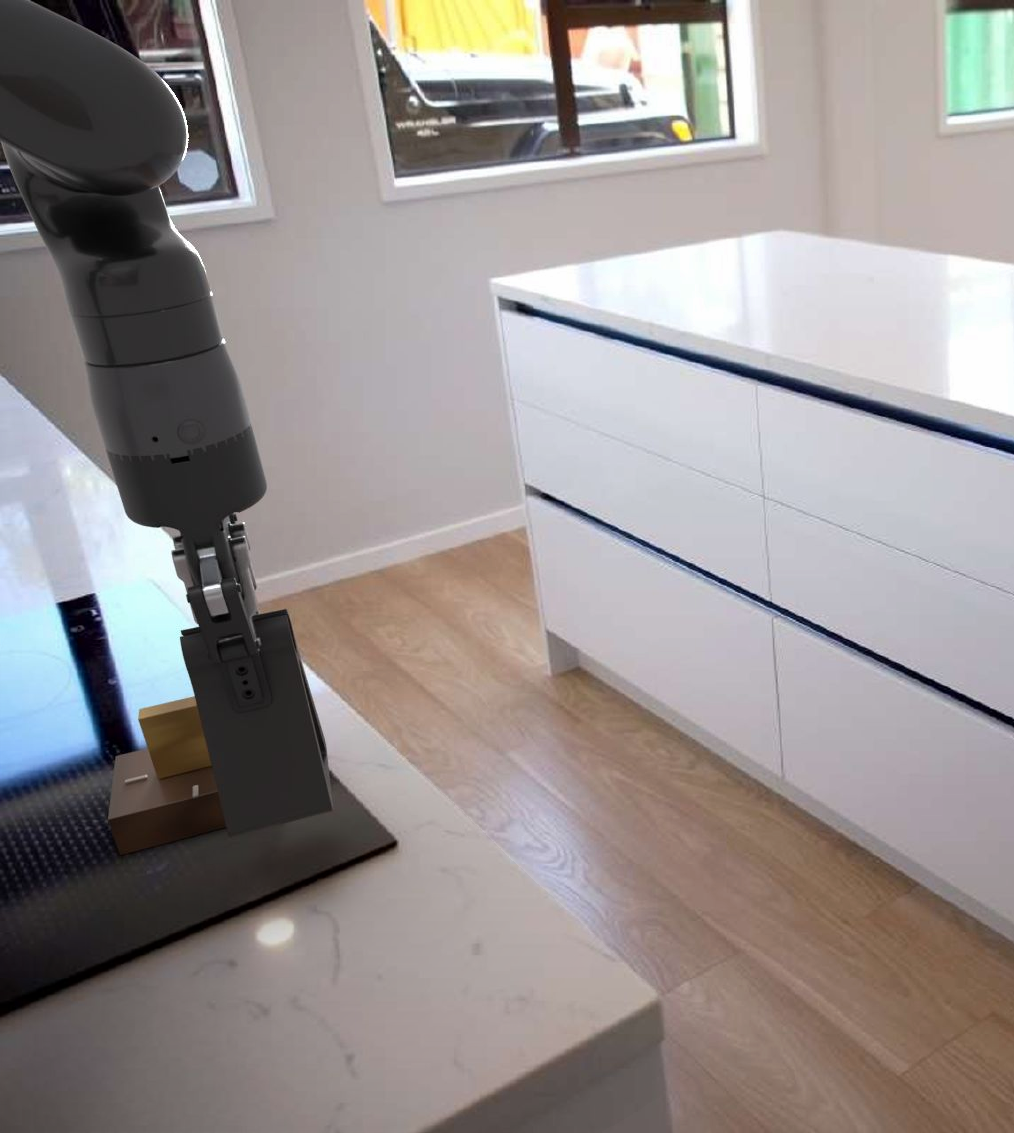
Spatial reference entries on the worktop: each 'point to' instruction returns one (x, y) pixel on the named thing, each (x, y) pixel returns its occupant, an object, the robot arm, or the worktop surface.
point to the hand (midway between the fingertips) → (252, 692)
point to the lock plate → (160, 804)
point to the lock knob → (174, 737)
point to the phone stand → (262, 734)
